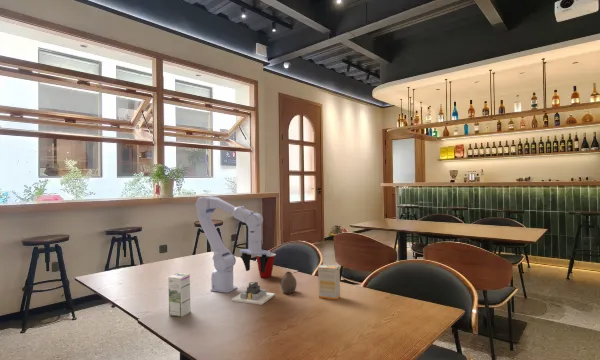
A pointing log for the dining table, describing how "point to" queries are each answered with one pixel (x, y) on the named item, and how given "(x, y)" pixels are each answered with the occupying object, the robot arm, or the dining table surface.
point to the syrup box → (179, 294)
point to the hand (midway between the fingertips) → (255, 271)
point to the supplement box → (329, 281)
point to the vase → (288, 283)
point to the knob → (252, 289)
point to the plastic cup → (268, 266)
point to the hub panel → (254, 297)
